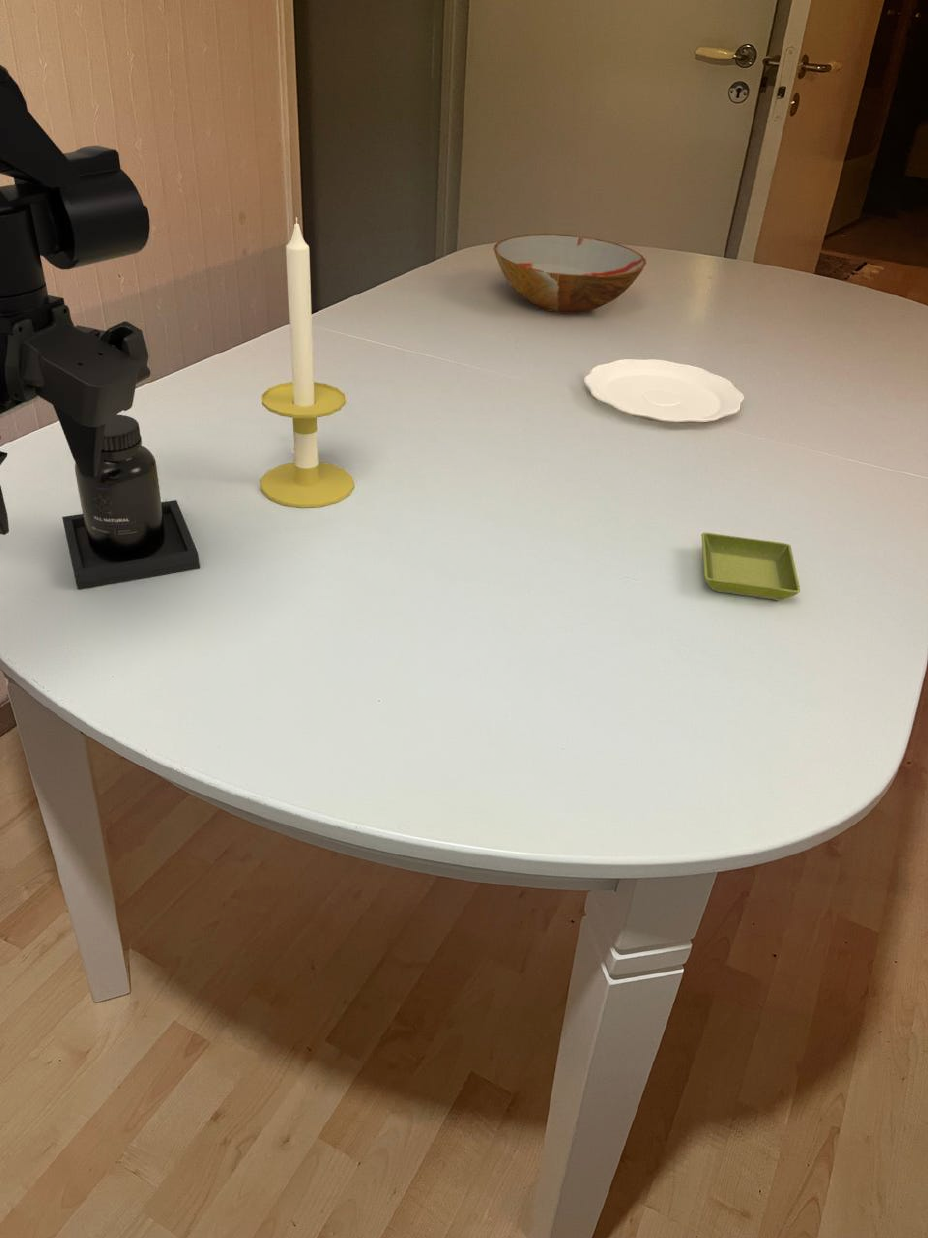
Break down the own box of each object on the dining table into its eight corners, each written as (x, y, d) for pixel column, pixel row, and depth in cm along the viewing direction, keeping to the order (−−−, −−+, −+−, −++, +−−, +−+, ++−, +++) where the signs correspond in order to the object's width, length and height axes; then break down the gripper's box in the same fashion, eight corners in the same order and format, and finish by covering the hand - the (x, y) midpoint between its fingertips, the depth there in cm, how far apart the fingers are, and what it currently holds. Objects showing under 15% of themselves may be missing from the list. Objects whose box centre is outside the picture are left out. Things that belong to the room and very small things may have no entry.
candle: (316, 455, 105) (308, 199, 89) (373, 488, 99) (375, 222, 83) (241, 480, 99) (217, 211, 83) (297, 517, 93) (283, 237, 77)
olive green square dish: (795, 610, 85) (801, 592, 84) (699, 597, 86) (704, 578, 85) (784, 561, 92) (790, 543, 91) (696, 549, 93) (701, 531, 92)
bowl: (475, 314, 148) (479, 263, 143) (504, 273, 168) (508, 227, 163) (632, 336, 144) (641, 284, 140) (642, 291, 164) (651, 244, 160)
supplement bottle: (104, 571, 82) (79, 448, 75) (80, 537, 87) (54, 417, 80) (178, 551, 86) (161, 431, 79) (152, 519, 90) (133, 402, 83)
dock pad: (77, 589, 81) (74, 574, 80) (65, 530, 88) (61, 516, 88) (200, 568, 85) (198, 553, 84) (178, 513, 92) (176, 499, 91)
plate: (551, 388, 125) (553, 376, 124) (655, 360, 136) (657, 349, 135) (668, 446, 112) (671, 433, 111) (771, 410, 124) (775, 398, 123)
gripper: (-11, 354, 49) (50, 597, 58) (192, 268, 63) (215, 473, 72) (-172, 318, 51) (-90, 555, 61) (58, 243, 66) (96, 444, 75)
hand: (47, 503), depth 67 cm, fingers open, 9 cm apart
